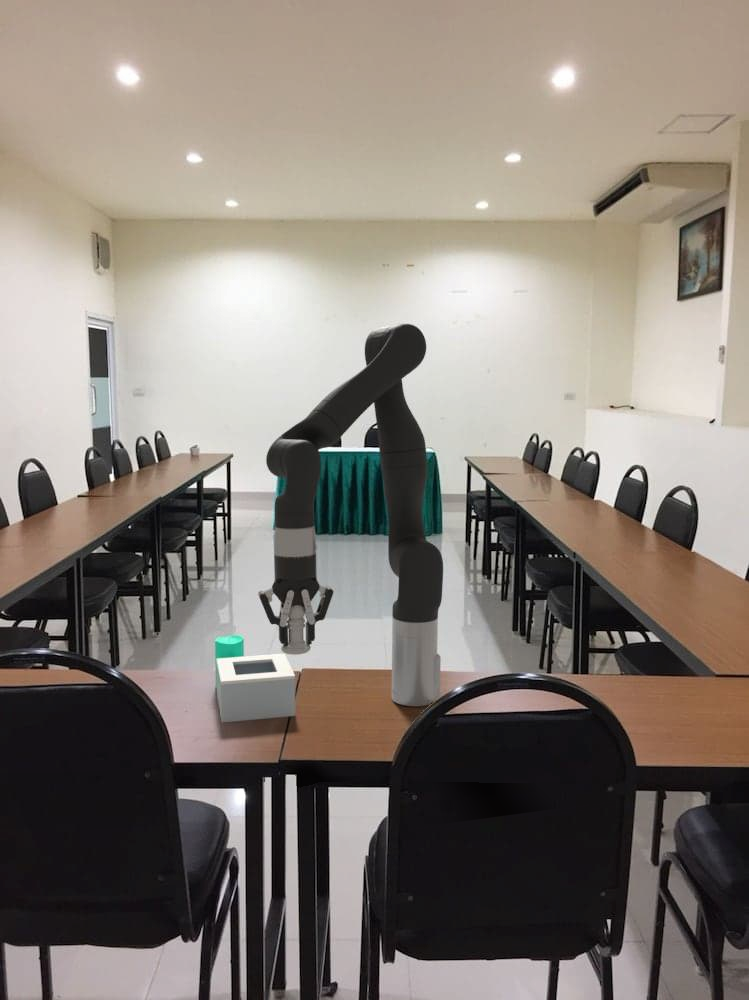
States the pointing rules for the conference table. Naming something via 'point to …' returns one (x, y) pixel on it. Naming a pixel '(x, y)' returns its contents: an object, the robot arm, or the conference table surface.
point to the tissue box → (255, 687)
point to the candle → (228, 648)
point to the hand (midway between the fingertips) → (296, 643)
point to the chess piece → (296, 632)
